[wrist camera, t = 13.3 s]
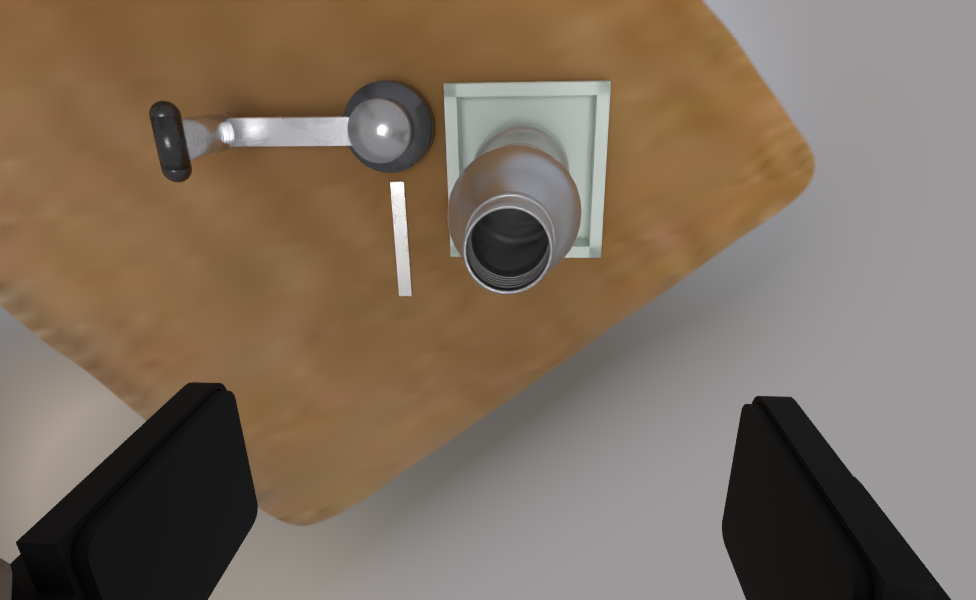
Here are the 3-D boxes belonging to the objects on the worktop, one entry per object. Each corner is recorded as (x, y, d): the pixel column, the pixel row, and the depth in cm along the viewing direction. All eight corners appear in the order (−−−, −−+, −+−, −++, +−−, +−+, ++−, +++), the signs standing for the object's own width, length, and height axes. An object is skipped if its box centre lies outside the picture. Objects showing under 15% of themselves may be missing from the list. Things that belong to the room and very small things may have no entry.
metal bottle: (463, 197, 42) (405, 300, 24) (493, 104, 40) (454, 139, 21) (547, 226, 43) (554, 350, 24) (582, 135, 40) (620, 197, 22)
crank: (412, 92, 38) (383, 98, 31) (416, 163, 40) (390, 184, 33) (206, 95, 40) (133, 101, 32) (218, 164, 41) (152, 184, 34)
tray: (449, 82, 40) (443, 83, 37) (605, 80, 39) (610, 81, 37) (456, 244, 45) (450, 256, 42) (596, 245, 44) (600, 257, 41)
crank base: (347, 81, 41) (338, 81, 39) (432, 79, 40) (427, 80, 38) (368, 294, 47) (362, 304, 45) (443, 295, 46) (439, 305, 44)
